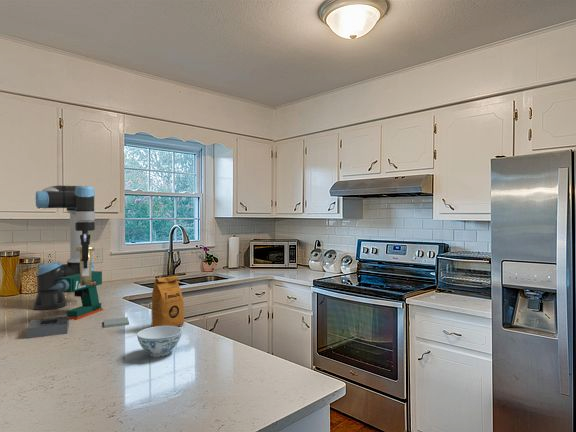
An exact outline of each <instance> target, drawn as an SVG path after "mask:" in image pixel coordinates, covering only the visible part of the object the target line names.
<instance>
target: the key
mask: <svg viewBox="0 0 576 432" xmlns="http://www.w3.org/2000/svg"><path fill="white" fill-rule="evenodd" d="M76 251H80V260H81V259H82V247H79V248H76ZM93 251H95V246H89V247H88V253H89V276H82V261H80V285H91V262H92V252H93Z"/></svg>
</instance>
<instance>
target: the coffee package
mask: <svg viewBox="0 0 576 432" xmlns="http://www.w3.org/2000/svg"><path fill="white" fill-rule="evenodd" d="M178 280H179V276H178V275H172V276H166V277H165V276H164V277H158V278H155V280H154V284H153V287H152V293H151V294H152V295H151V323H152V325H151V326H152V327H156V326H176V327H181V326H184V323H185V313H184V312H185V311H184V310H185V309H184V307H185V306H184V297H183V293H182V290H181V287H180V285H179V282H178Z"/></svg>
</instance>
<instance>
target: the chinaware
mask: <svg viewBox="0 0 576 432" xmlns="http://www.w3.org/2000/svg"><path fill="white" fill-rule="evenodd" d="M182 332H183V329H182V328H181V327H180V326H178V327H176V326H156V327H147V328H144V329H141V330H139V331H138V332H137V334H136V336H137V341H138V343H139V345H140V347H141V348H142V350H144V351H145V352H147V353H149V355H151V356H150V357H152V356H153V358H161V357H160V356H162V357H166V356H169V354H171V351H172V350H173V349H174V348H175V347H176V346H178V343H179V341H180V339H181V336H182ZM165 355H166V356H165Z"/></svg>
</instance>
